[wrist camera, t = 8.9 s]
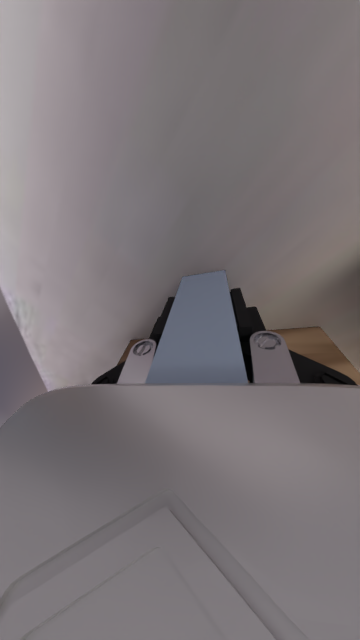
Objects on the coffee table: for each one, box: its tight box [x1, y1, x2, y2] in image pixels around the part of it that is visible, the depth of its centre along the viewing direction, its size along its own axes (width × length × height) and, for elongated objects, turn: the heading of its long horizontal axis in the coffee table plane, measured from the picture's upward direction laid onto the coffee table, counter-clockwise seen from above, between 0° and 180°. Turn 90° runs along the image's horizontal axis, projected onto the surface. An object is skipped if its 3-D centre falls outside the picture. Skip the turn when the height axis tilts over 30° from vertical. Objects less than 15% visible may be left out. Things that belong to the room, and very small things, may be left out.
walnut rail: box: [117, 327, 360, 385], centre depth 15 cm, size 2×18×6 cm, turn 102°
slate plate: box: [145, 270, 248, 383], centre depth 13 cm, size 16×3×9 cm, turn 12°
